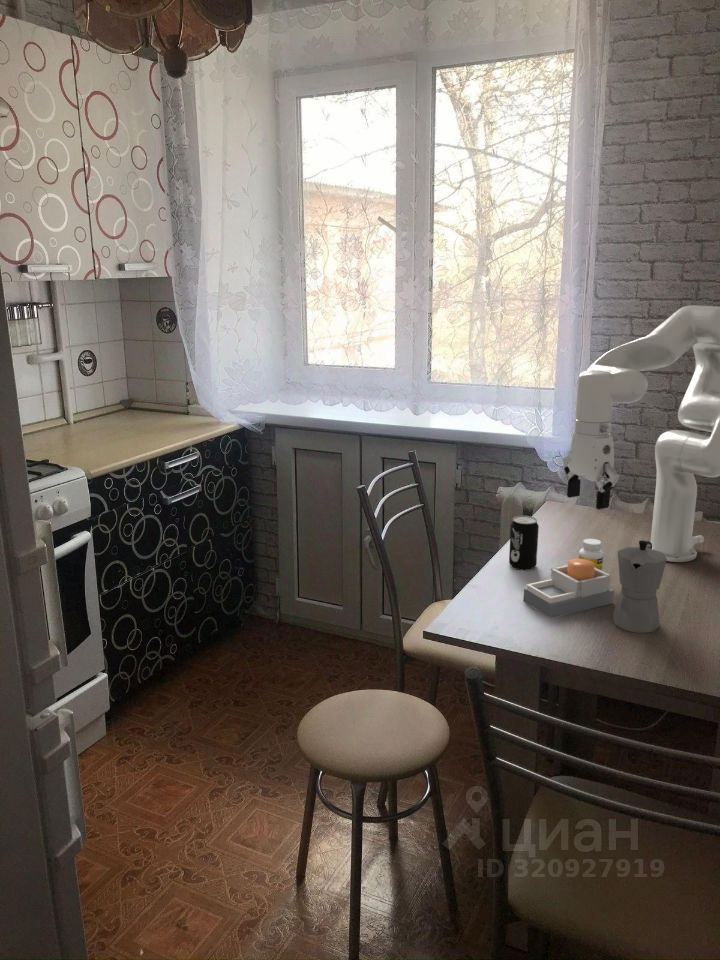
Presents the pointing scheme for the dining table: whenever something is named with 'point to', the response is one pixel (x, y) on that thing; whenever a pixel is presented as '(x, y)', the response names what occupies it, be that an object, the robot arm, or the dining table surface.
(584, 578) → the orange rounded capsule
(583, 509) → the dining table surface
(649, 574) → the coffeepot
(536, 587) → the grey divided storage tray
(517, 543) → the beverage can
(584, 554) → the supplement bottle
